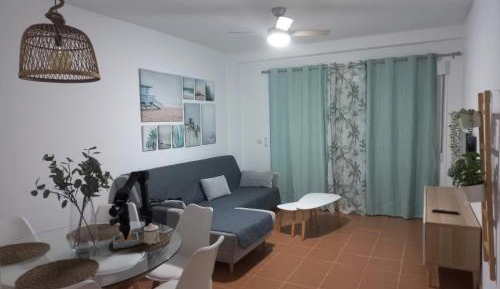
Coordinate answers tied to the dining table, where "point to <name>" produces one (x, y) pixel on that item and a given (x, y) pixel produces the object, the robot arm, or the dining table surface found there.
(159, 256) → the dining table surface
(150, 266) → the dining table surface
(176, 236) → the dining table surface
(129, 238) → the small crate
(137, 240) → the big crate
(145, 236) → the teacup with lid
